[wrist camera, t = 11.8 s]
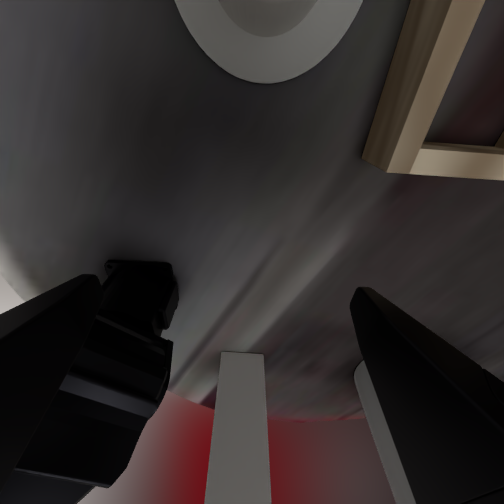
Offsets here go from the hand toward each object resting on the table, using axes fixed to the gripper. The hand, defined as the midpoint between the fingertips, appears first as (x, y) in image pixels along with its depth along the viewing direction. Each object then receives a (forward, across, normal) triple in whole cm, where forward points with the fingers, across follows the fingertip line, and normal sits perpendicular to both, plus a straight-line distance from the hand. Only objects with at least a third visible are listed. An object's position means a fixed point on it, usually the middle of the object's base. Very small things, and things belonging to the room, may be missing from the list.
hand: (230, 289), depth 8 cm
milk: (+13, -1, +27) cm, 30 cm away
